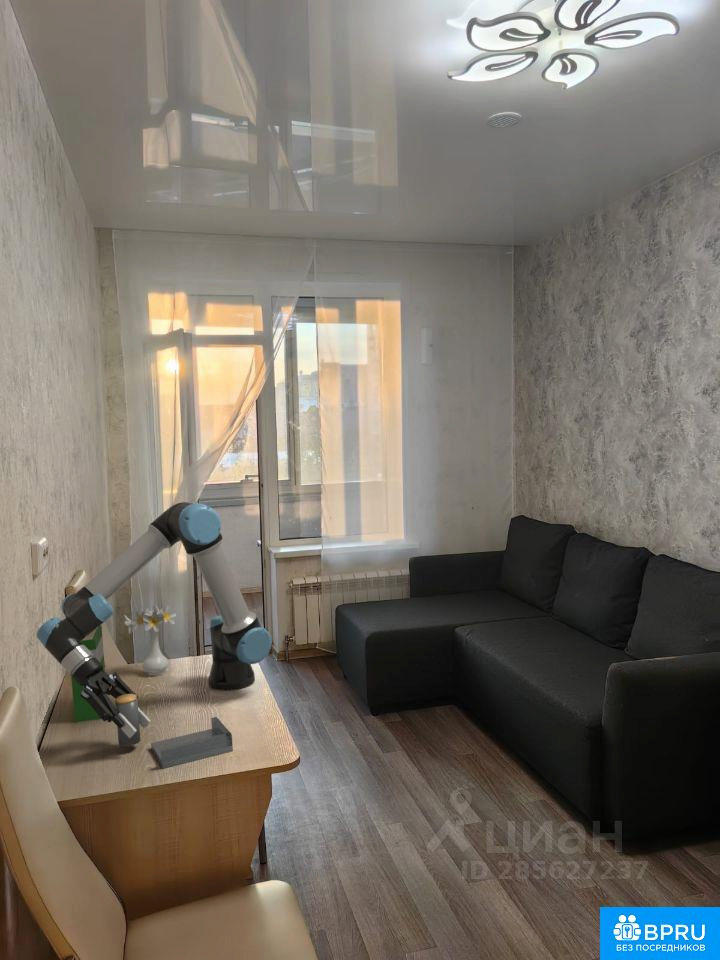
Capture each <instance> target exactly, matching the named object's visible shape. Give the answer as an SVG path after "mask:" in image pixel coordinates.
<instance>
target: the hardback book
mask: <svg viewBox="0 0 720 960" xmlns="http://www.w3.org/2000/svg"><path fill="white" fill-rule="evenodd" d="M103 637H104V636H103V624H101V625H100V626H99V627H97V628H96V629H95V630H94V631H92V632H91V633H90V634H89V635H87V636H86V637H85V638H84V639H82V640H81V642H82V643H83V644H84V645H85V646H86V648H87V649H88V650H89V651H90V652H91V653H92V654H93V657H94V658H96V659H97V660H98V661H99V662H100V663H101V664H102V665H103V671H104V672H105V673H106V667H105V666H106V664H105V663H106V662H105V653H104V652H105V651H104V650H105V649H104V639H103ZM70 676H71V689H72V692H71V693H72V701H73V715H74V723H80V722H81V723H82V722H88V721H96V720H102V719H101V717H100V716H99V715H98V714H97V713H96V712H95V710H94V709H93V708H92V707H91V706H90V704H89V703H88V702H87V701H86V700H85V699H83V698H82V697H81V696H80V694H81V693H82V691H83V690H84V689H85V688H84V686H80V685H79V684H78V683H77V682H76V681H75V680H74V679H73V675H70Z"/></svg>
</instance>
